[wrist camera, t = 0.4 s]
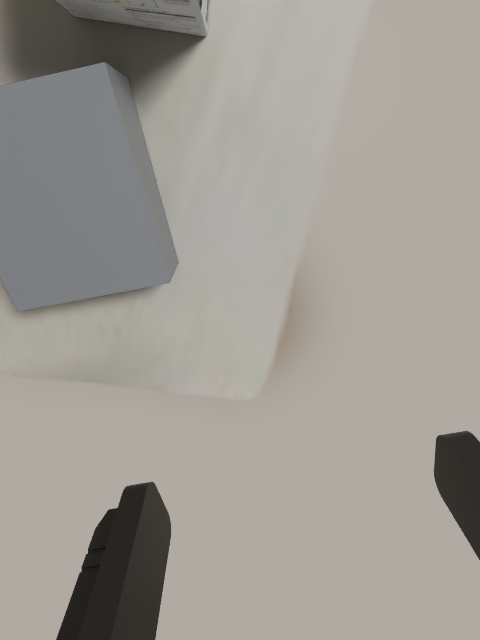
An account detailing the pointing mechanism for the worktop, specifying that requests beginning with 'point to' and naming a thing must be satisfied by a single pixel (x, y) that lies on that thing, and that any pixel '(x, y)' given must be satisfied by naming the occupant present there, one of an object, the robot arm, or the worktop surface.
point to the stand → (77, 191)
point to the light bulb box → (146, 13)
